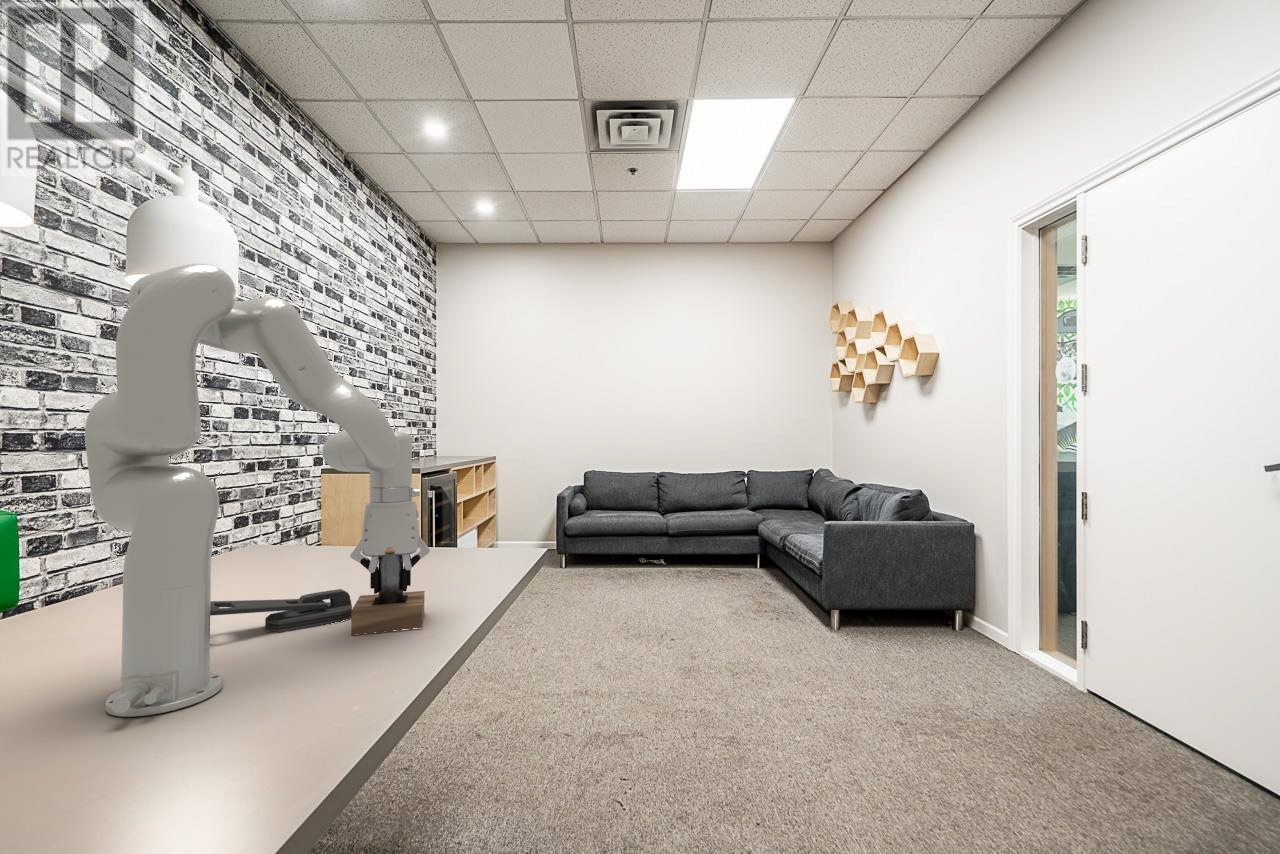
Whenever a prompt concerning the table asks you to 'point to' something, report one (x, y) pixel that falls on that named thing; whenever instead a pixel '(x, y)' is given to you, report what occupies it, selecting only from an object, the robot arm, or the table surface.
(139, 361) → the robot arm
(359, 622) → the socket block
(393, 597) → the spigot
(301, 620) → the zipper pull
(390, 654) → the table surface
